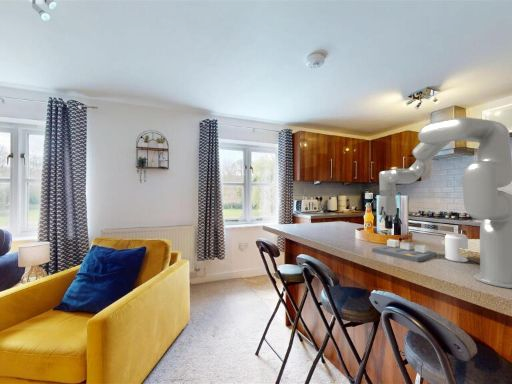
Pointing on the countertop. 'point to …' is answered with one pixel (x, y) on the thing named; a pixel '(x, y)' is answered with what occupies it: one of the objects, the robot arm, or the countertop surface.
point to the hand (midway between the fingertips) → (388, 228)
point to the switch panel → (404, 253)
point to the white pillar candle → (455, 246)
